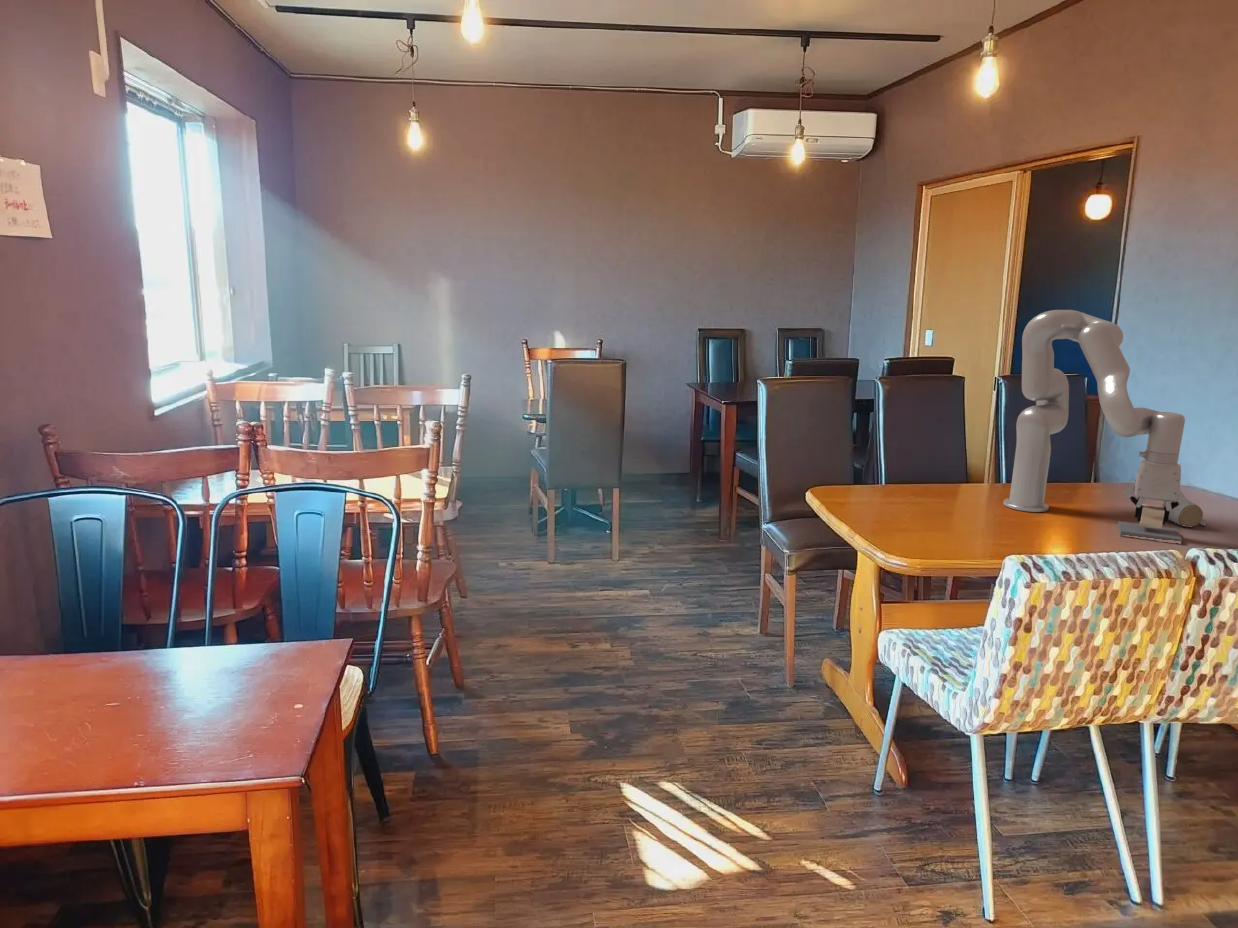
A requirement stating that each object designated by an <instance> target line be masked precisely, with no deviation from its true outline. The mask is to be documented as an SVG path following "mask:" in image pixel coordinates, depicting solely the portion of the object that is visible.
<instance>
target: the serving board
mask: <svg viewBox="0 0 1238 928" xmlns="http://www.w3.org/2000/svg"><path fill="white" fill-rule="evenodd" d="M1118 528H1119V530H1118V532H1119V531H1120V534H1119V536H1120V535H1129V536H1138V537H1146V538H1154V539H1162V540H1174V541H1183V540H1182V537H1181V535H1180V533H1179V531H1178V529H1177V528H1173V527H1165V526H1162V529H1160V528H1153V527H1145V526H1140V524H1139V523H1135V522H1128V521H1120V520H1118V521H1117V529H1118Z"/></svg>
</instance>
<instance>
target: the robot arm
mask: <svg viewBox="0 0 1238 928" xmlns="http://www.w3.org/2000/svg"><path fill="white" fill-rule="evenodd" d="M1021 337H1022V338H1021V349H1022V352H1021V353H1022V355H1021V357H1022V358H1021V359H1022V361H1021V392H1022V395H1023V396H1024V398H1025V399H1027V400H1030V401H1033V402H1035V405H1032V406H1029V407H1027V408H1025V409H1023V410H1022V411H1021V412H1020V414H1019V415H1018V417H1017V420H1016V424H1015V425H1016V426H1015V427H1016V444H1015V454H1014V461H1013V469H1012V477H1011V483H1010V484H1011V485H1010V492H1009V497H1008V498H1005V499H1003V506H1004V507H1007V508H1009V509H1013V510H1017V511H1021V512H1028V513H1029V512H1030V513H1031V512H1032V513H1042V512H1047V511H1049V507H1050V506H1049V504H1047V503H1046V502H1045V498H1046V497H1045V495H1046V491H1047V489H1046V488H1047V482H1048V481H1047V480H1048V475H1049V468H1050V459H1051V452H1052V451H1051V450H1052V445H1051V435H1055V434H1056V433H1057V434H1058V433H1060V432H1061V431H1062V430H1063V429H1065V427H1066V426H1067V424H1068V420H1069V403H1070V402H1069V401H1070V400H1069V399H1070V384H1069V380H1068V378H1067V375H1066V374H1065V373H1064V372H1063V371H1062V370H1060V369H1059V368H1055V365H1054V364H1055V352H1054V348H1053V341H1055V340H1065V339H1067V340H1070V341H1073V342H1076V343H1078V344H1079V346H1080V349H1081V351H1082V353H1083V355H1084V357H1085V360H1086V361H1087V363H1088V365H1089V368H1090V369H1091V371H1092V374H1093V376H1094V377H1095V380H1096V382H1097V383H1096V384H1097V393H1098V394H1097V395H1098V400H1099V404H1100V408H1101V411H1102V413H1103V415H1104V417H1105V419H1106V421H1107V423H1108V425H1109V427H1110V429H1111V430H1112V432H1114V433H1115V434H1116V435H1118V436H1119V437H1122V438H1132V437H1137V436H1143V435H1148V438H1147V442H1146V449H1145V450H1144V451H1139V452H1138V457H1142V458H1143V459H1142V460H1141V462H1140V464H1139V466H1138V470H1137V473H1136V477H1135V482H1134V483H1133V484H1132V485H1131V486H1129V487H1127V488H1126V489H1125V490H1124V491H1123V494H1124V496H1125V497H1127V499H1129V500H1130V501H1131V502H1132V503H1133V504H1134V506H1135V511H1134V518H1136V521H1137V522H1138V523H1139V522H1140V521H1141V515H1142V504H1144V502H1145V500H1155V501H1164V502H1163V503H1165V507H1164V510H1165V513H1164V519H1163V524H1162V526H1165V525H1166V522H1168V521H1169V520H1168V518H1169V512H1170V511H1171V510H1172V509H1173V508H1175V507H1177V506H1178V505H1180V504H1182V503H1185V502H1186V501H1187V500H1188V499H1187V497H1186V496H1185V494H1183V492H1182V490H1181V489H1180V487H1181V480H1182V477H1181V476H1182V466H1181V464H1179V462H1178V461H1179V458H1180V457H1179V456H1180V451H1181V445H1182V440H1183V435H1184V429H1185V423H1186V418H1185V416H1184V415H1183V414H1181V413H1177V412H1171V411H1158V410H1155V409H1151V408H1146V407H1135V406H1134V405H1133V403H1132V400H1131V399H1130V396H1129V393H1128V392H1129V391H1128V387H1127V386H1128V379H1129V377H1130V372H1131V368H1130V366H1129V363H1128V362H1127V360H1126V358H1125V356H1124V354H1123V351H1122V350H1121V347H1120V346H1121V344H1122V343H1123V341H1124V333H1123V330H1122V328H1121V327H1120V326H1119V325H1117V324H1116V323H1115V322H1112V321H1108V320H1105V319H1102V318H1099V317H1096V316H1094V315H1090V314H1087V313H1085V312H1081V311H1078V310H1073V309H1054V310H1052V309H1051V310H1048V311H1043V312H1041V313H1039V314H1038V315H1036V316H1034V317H1033V318H1032V319H1031V320H1029V321H1028V323H1027V324H1026V326H1025V328H1024V330H1023V332H1022V336H1021ZM1133 492H1134V495H1133V494H1132V493H1133ZM1178 496H1179V499H1178ZM1136 497H1137V498H1136ZM1177 499H1178V500H1177ZM1170 501H1173V502H1172V503H1171V502H1170Z"/></svg>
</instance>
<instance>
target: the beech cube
mask: <svg viewBox="0 0 1238 928" xmlns="http://www.w3.org/2000/svg"><path fill="white" fill-rule="evenodd" d="M1164 513H1165V510H1164V508H1163V507H1162V505H1161V506H1160V505H1151V504H1144V503H1142V515H1141V521H1140V522H1138V524H1140V526H1145V527H1153V528H1160V529H1162V527H1163V525H1162V524H1163V519H1164Z"/></svg>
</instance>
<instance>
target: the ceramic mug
mask: <svg viewBox="0 0 1238 928" xmlns="http://www.w3.org/2000/svg"><path fill="white" fill-rule="evenodd" d="M1178 499H1179V496H1178ZM1178 499H1177V500H1178ZM1170 502H1171V503H1172V502H1173V501H1170ZM1161 507H1163V508H1164V507H1165V503H1164V502H1163V503H1162V505H1161ZM1203 517H1204V511H1203V510H1202V509H1201V507H1200V506H1199V505H1197V504H1196V503H1194V502H1192V501H1191V500H1189V499H1187V501H1186V502H1185V503H1182V504H1180V505H1178V506H1177V507H1175V508H1173V509H1172V510H1171V511H1170V512H1169V518H1168V521H1169V520H1170V521H1169V522H1171V521H1173V522H1175V523H1174V524H1176V523H1177V524H1176V525H1178V524H1180V525H1185V526H1194V527H1196V526H1198V525H1201V526H1203V525H1204V524H1206V525H1207V524H1208V521H1206V520H1205V519H1203ZM1173 522H1172V523H1173ZM1180 525H1179V526H1180ZM1195 525H1196V526H1195Z"/></svg>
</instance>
